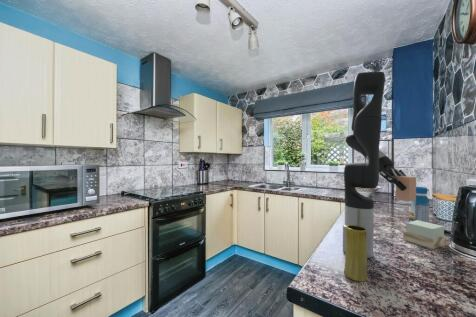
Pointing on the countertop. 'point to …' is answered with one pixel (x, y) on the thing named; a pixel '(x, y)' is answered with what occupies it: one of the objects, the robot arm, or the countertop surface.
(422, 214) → the beverage bottle
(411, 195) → the square block
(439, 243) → the tower base
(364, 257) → the vase
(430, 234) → the tower top
